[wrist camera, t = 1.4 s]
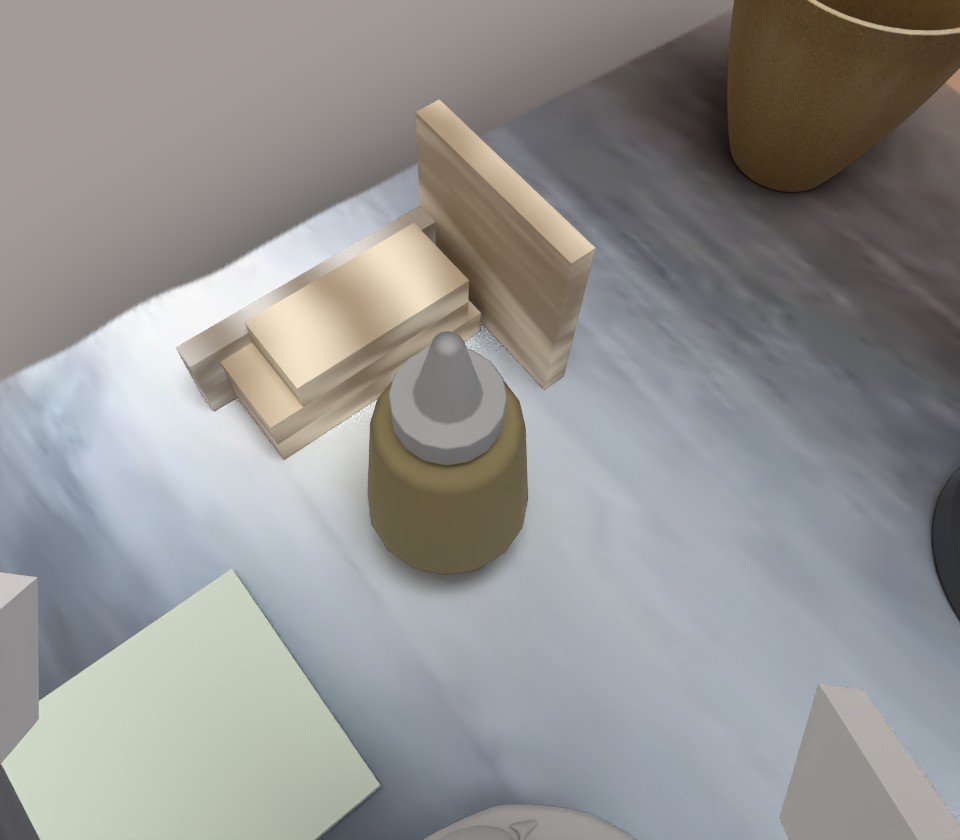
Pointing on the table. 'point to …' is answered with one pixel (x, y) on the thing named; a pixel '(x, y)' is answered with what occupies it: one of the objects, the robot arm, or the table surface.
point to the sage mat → (190, 737)
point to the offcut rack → (404, 296)
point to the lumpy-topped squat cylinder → (530, 825)
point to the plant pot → (830, 80)
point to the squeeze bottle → (447, 460)
